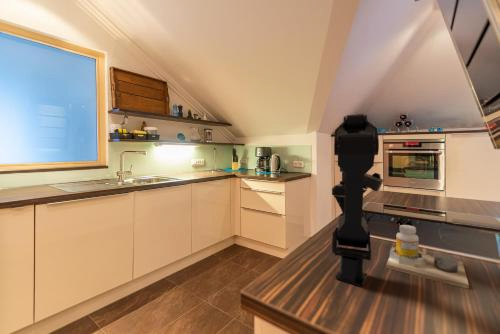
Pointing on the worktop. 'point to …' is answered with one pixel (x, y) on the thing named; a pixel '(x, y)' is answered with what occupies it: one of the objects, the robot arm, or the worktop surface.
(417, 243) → the supplement bottle
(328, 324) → the worktop surface
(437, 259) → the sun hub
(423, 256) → the socket collar
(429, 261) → the carrier plate
